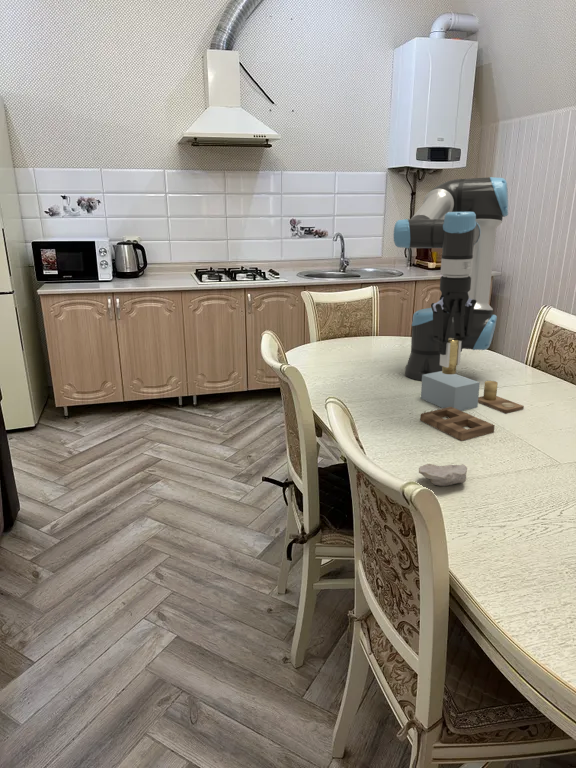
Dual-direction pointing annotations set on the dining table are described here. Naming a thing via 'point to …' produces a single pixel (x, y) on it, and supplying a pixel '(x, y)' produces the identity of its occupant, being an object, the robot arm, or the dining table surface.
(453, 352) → the peg
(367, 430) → the dining table surface
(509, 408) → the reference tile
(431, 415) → the board
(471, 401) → the housing
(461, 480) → the fossil
